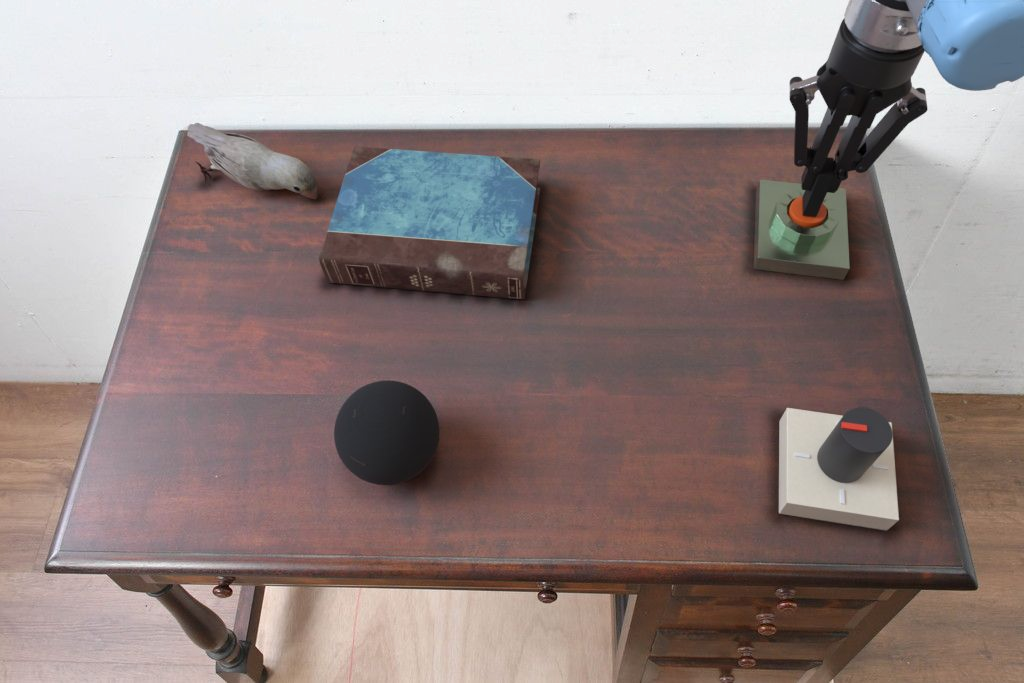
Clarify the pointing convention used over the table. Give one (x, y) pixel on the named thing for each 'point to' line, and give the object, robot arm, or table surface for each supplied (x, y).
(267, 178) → the decorative bird
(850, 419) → the knob
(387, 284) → the book
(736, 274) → the table surface
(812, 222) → the button
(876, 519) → the knob panel
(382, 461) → the speaker
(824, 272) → the button box
